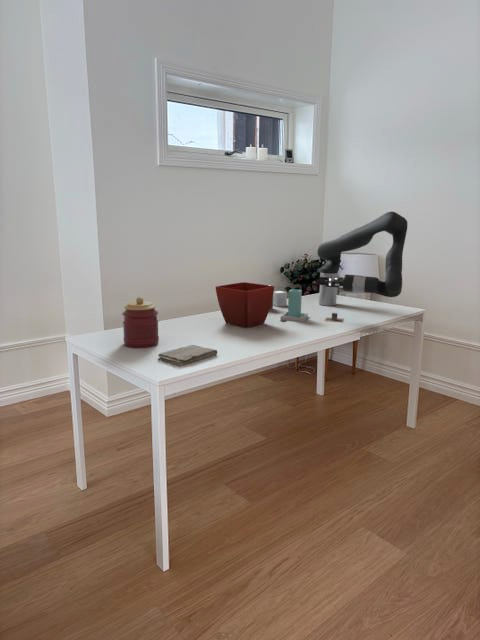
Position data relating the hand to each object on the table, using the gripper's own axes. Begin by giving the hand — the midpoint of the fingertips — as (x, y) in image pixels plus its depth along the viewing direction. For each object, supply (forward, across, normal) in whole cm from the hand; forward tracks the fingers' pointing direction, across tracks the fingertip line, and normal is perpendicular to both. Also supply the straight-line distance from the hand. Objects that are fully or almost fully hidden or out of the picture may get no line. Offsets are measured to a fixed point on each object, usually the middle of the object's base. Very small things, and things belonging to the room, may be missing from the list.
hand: (318, 280), depth 217 cm
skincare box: (+25, -28, +20) cm, 42 cm away
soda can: (+28, -16, +20) cm, 38 cm away
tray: (+9, +3, +18) cm, 21 cm away
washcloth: (+30, +74, +18) cm, 82 cm away
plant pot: (+28, +19, +19) cm, 39 cm away
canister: (+54, +64, +19) cm, 86 cm away
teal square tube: (+9, +3, +18) cm, 20 cm away
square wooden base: (-9, 0, +18) cm, 20 cm away
